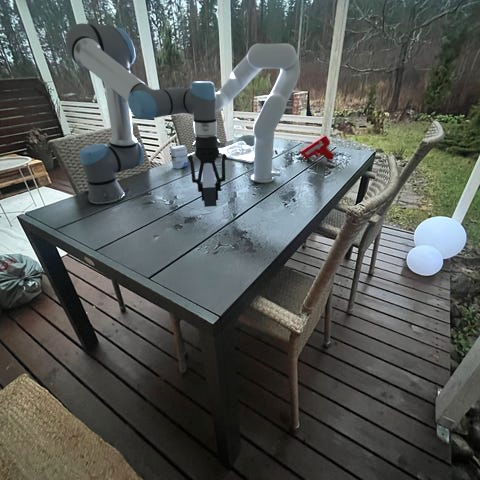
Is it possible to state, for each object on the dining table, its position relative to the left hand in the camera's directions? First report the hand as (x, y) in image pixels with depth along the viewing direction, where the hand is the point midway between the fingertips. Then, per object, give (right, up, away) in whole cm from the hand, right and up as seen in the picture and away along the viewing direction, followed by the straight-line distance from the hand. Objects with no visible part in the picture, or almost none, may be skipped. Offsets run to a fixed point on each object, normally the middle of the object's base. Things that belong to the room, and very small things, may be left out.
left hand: (210, 198), depth 103 cm
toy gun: (+61, +36, +72) cm, 101 cm away
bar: (-3, +13, +22) cm, 25 cm away
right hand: (-6, +28, +41) cm, 51 cm away
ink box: (-25, +29, +62) cm, 73 cm away
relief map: (+13, +44, +85) cm, 97 cm away
